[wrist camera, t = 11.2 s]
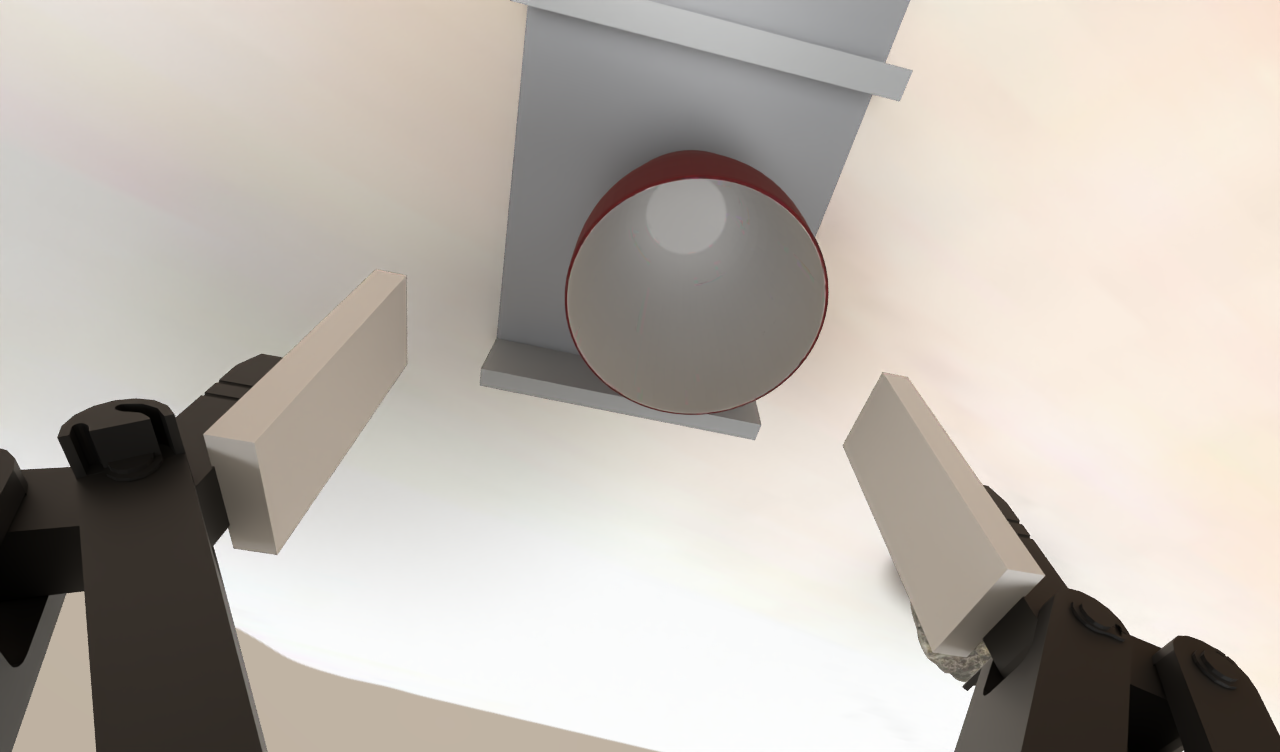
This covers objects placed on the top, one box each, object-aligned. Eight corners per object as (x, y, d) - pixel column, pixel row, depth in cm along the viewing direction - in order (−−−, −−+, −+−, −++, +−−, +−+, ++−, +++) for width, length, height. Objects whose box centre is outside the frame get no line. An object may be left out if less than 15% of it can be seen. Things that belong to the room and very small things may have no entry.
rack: (500, 343, 31) (479, 385, 27) (616, -834, 13) (598, -1138, 10) (744, 393, 32) (754, 440, 29) (1144, -625, 15) (1297, -830, 11)
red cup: (796, 316, 28) (851, 445, 20) (641, 353, 30) (631, 487, 21) (758, 90, 23) (811, 134, 14) (571, 149, 24) (520, 220, 16)
